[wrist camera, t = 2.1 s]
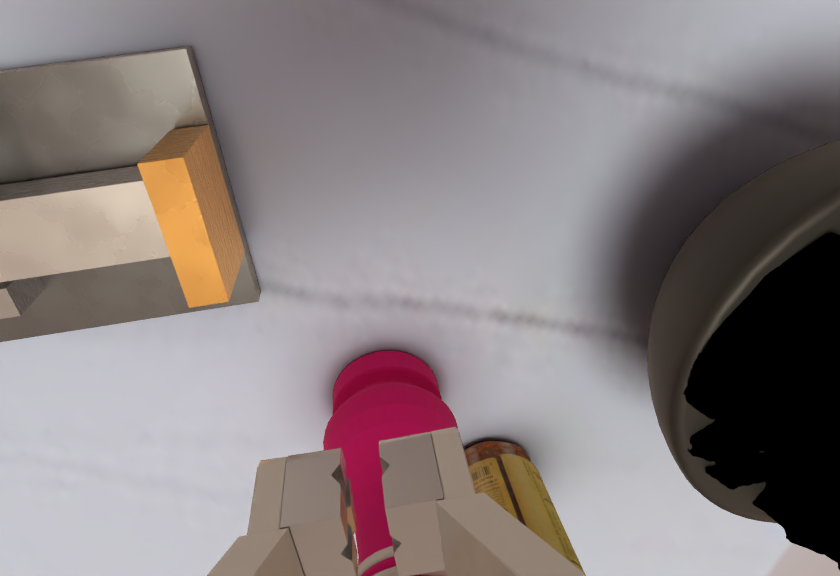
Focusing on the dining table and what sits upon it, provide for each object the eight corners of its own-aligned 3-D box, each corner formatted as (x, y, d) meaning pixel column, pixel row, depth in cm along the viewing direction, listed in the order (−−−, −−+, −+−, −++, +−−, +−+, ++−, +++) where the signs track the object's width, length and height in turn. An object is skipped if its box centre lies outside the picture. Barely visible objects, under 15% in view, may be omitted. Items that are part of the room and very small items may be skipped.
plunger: (-90, 85, 22) (-186, 112, 18) (187, 49, 23) (154, 67, 19) (15, 285, 27) (-43, 344, 23) (244, 250, 28) (229, 301, 23)
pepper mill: (298, 393, 34) (261, 846, 16) (390, 319, 32) (459, 735, 15) (381, 455, 37) (423, 888, 20) (469, 390, 35) (600, 801, 18)
